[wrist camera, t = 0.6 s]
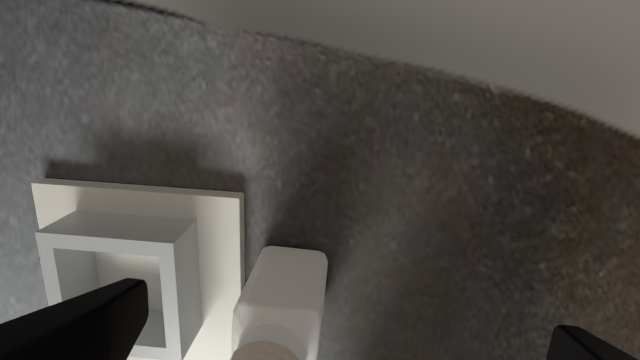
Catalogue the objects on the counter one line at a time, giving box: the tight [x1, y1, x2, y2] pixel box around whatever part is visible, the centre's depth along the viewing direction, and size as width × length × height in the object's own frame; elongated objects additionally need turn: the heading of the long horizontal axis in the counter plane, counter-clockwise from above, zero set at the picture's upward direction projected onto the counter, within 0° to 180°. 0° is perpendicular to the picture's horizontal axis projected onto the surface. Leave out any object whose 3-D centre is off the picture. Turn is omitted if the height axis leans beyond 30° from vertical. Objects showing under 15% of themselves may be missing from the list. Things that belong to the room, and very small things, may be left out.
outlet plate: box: [31, 178, 245, 360], centre depth 23 cm, size 18×12×4 cm, turn 177°
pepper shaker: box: [230, 246, 328, 360], centre depth 19 cm, size 4×4×10 cm
